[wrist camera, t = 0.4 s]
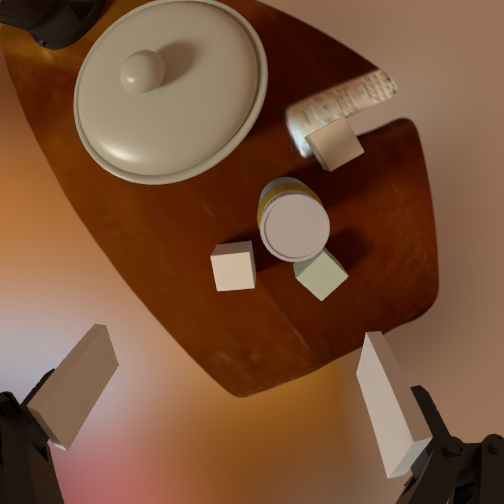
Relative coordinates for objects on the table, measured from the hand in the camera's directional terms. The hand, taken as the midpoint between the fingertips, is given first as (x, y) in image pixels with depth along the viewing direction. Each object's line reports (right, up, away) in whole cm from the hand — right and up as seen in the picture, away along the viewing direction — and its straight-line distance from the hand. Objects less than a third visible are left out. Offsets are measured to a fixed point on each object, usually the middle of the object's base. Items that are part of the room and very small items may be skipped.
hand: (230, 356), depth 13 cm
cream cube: (-1, +4, +29) cm, 29 cm away
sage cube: (+11, +3, +29) cm, 31 cm away
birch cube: (+11, +19, +23) cm, 32 cm away
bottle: (+6, +12, +26) cm, 29 cm away
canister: (-6, +25, +22) cm, 34 cm away
